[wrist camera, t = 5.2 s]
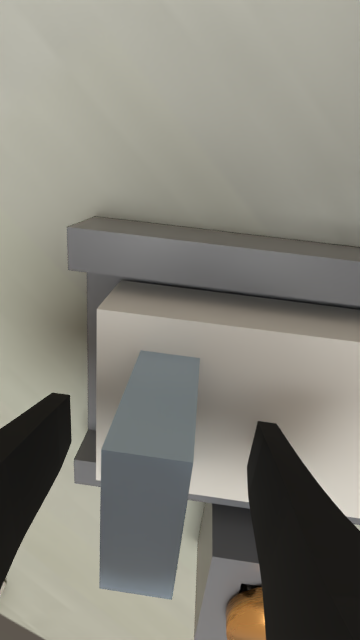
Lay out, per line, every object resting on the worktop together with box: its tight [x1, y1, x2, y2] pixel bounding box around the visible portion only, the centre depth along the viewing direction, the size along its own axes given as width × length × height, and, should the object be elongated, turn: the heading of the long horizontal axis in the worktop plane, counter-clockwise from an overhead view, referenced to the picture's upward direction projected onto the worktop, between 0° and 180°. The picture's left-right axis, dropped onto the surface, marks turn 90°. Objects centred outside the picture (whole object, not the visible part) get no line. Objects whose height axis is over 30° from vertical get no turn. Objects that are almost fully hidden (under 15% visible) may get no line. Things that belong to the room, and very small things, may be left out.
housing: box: [67, 216, 360, 640], centre depth 16 cm, size 16×19×5 cm
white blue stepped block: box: [96, 280, 360, 600], centre depth 12 cm, size 12×8×8 cm, turn 84°
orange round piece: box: [226, 583, 266, 640], centre depth 17 cm, size 4×4×4 cm
